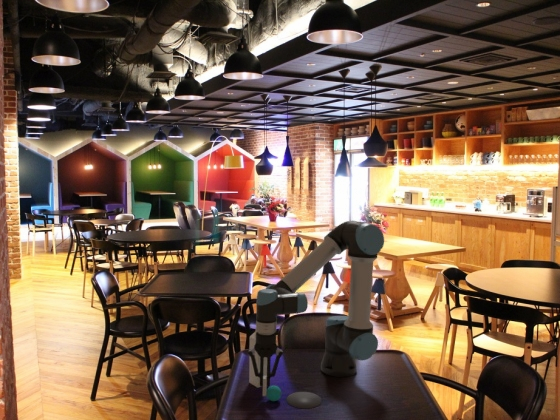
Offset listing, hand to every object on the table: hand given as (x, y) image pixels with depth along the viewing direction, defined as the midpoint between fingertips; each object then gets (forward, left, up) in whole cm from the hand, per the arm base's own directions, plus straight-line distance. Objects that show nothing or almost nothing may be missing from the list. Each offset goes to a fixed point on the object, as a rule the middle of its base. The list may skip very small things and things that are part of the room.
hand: (264, 394), depth 182 cm
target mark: (-15, 0, -2) cm, 15 cm away
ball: (-3, 0, 0) cm, 3 cm away
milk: (+2, -15, -3) cm, 15 cm away
